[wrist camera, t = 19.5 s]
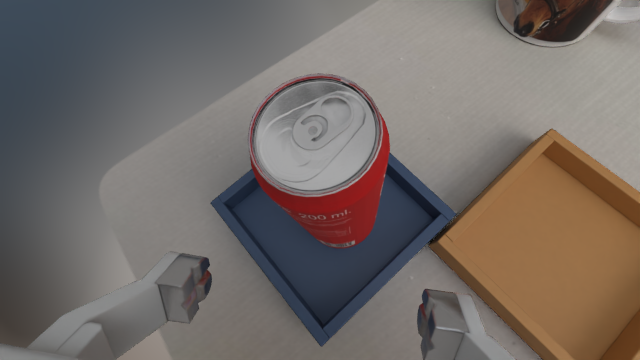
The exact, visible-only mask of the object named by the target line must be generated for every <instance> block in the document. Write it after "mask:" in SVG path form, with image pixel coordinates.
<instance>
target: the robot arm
mask: <svg viewBox="0 0 640 360" xmlns="http://www.w3.org/2000/svg"><path fill="white" fill-rule="evenodd" d="M209 266H210V264H209V259H208V258H206V257H201V256H196V255H190V254H184V253H176V252H168V253H166V254H165V255H164V256H163V257H162V258H161V260H160V261H159V262H158V263H157V264H156V265H155V266H154V267H153V268H152V269H151V270H150V271H149V272H148V273H147V274H146V275H145V277H144V278H143V279H142V280H141V281H135V282H132V283H130V284H128V285H126V286H124V287H122V288H120V289H118V290H115V291H113V292H111V293H109V294H107V295H105V296H103V297H100V298H98V299H96V300H94V301H92V302H90V303H88V304H85V305H83V306H81V307H79V308H77V309H75V310H73V311H70V312H69V313H66V314H64V315H62V316H61V317H60V318H59V319H58V320H57V321H55V323H53V324H52V325H51V326H50V327H49V328H48V329H47V330H45V331H44V332H43V333H42V334H41V335H40V336H39V337H38V338H37V339H36V340H34V341H33V342H32V343H31V344H30V345H29V346H28V347H27V348H22V347H17V346H12V345H7V344H1V343H0V360H116V359H117V358H118V357H120V356H121V355H123V354H124V353H125V352H127V351H128V350H129V349H131V348H132V347H134V346H135V345H136V344H138V343H139V342H140V341H142V340H143V339H145V338H146V337H147V336H149V335H150V334H151V333H153V332H154V331H156V330H157V329H158V328H160V327H161V326H163V325H164V324H165V323H167V321H174V322H181V323H188V324H190V322H191V321H192V319H193V317H194V316H195V314H196V313H197V311H198V309H199V305H198V303H199V302H201V301H202V300H204V299H205V298H206V297H207V295H208V293H209V291H210V288H211V283H212V277H211V273H210V272H209V271H208V270H207V269H208V267H209ZM422 300H423V303H422V304H421V305H419V309H418V316H417V325H418V333H419V334H420V336H421V337H422V338H423V339H422V342H421V351H422V356H423V360H516V359H515V358H514V357H513V356H512V355H511V354H510V353H509V352H508V351H507V350H506V349H505V348H504V347H502V346H501V345H500V344H499V343H498V342H497V341H496V340H495V339H494V338H493V337H490V336H487V333H486V331H485V328H484V326H483V323H482V321H481V318H480V316H479V314H478V311H477V309H476V306H475V304H474V301H473V299H472V297H471V296H470V295H469V294H461V293H453V292H445V291H438V290H431V289H425V290H424V291H423V295H422Z"/></svg>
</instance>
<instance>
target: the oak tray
mask: <svg viewBox="0 0 640 360" xmlns="http://www.w3.org/2000/svg"><path fill="white" fill-rule="evenodd" d="M428 246H429V247H430V248H431V249H432V250H433V251H434V252H435V253H436V254H437V255H438V256H439V257H440V258H441V259H442V260H443V261H444V262H445V263H446V264H447V265H448V266H449V267H450V268H451V269H452V270H453V271H454V272H455V273H456V274H457V275H458V276H459V277H460V278H461V279H462V280H463V281H464V282H465V283H466V284H468V285H469V286H470V287H471V288H472V289H473V290H474V291H475V292H476V293H477V294H478V295H479V296H480V297H481V298H482V299H483V300H484V301H485V302H486V303H487V304H488V305H489V306H490V307H491V308H492V309H493V310H494V311H495V312H496V313H497V314H498V315H499V316H500V317H501V318H502V319H503V320H504V321H505V322H506V323H507V324H508V325H509V326H510V327H511V328H512V329H513V330H514V331H515V332H516V333H517V334H518V335H519V336H520V337H521V338H522V339H523V340H524V341H525V342H526V343H527V344H528V345H529V346H530V347H531V348H532V349H533V350H534V351H535V352H536V353H537V354H538V355H539V356H540V357H541V358H542V359H543V360H640V192H639V191H637V190H636V189H634V188H633V187H632V186H630V185H629V184H628V183H626V182H625V181H623V180H622V179H621V178H619V177H618V176H617V175H615V174H614V173H612V172H611V171H610V170H608V169H607V168H606V167H604V166H603V165H601V164H600V163H599V162H597V161H596V160H595V159H593V158H592V157H591V156H589V155H588V154H586V153H585V152H584V151H582V150H581V149H580V148H578V147H577V146H575V145H574V144H573V143H571V142H570V141H569V140H567V139H566V138H564V137H563V136H562V135H560V134H559V133H558V132H556V131H555V130H553V129H550V130H549V131H547V132H546V133H545V134H543V135H542V136H541V137H539V138H538V139H537V140H535V141H534V142H533V143H532V144H531V145H530V146H528V147H527V148H526V149H525V150H524V151H523V152H522V153H521V154H520V155H519V156H518V157H517V158H516V159H515V160H514V161H513V162H512V163H511V164H510V165H509V166H508V167H507V168H506V169H505V170H504V171H503V172H502V173H501V174H500V175H499V176H498V177H497V178H496V179H495V180H494V181H493V182H492V183H491V184H490V185H489V186H488V187H487V188H486V189H485V190H484V191H483V192H482V193H481V194H480V195H479V196H478V197H477V198H476V199H475V200H474V201H473V202H472V203H471V204H470V205H469V206H468V207H467V208H466V209H465V210H464V211H462V212H461V213H460V214H459V215H458V216H457V217H456V218H455V219H454V220H453V221H452V222H451V223H450V224H449V225H448V226H447V227H446V228H445V229H444V230H443V231H442V232H441V233H440V234H439V235H438V236H437V237H436V238H435V239H434V240H433V241H432V242H431V243H430V244H429V245H428Z"/></svg>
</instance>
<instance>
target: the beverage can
mask: <svg viewBox="0 0 640 360" xmlns="http://www.w3.org/2000/svg"><path fill="white" fill-rule="evenodd" d="M248 144H249V152H250V158H251V166H252V169H253V172H254V175H255V177H256V180H257V181H258V183H259V184H260V186H261V188H262V189H263V191H264V192H265V193H266V194H267V195H268V196H269V197H270V198H271V199H272V200H273V201H274V202H275V203H277V204H278V205H279V206H280V207H281V208H282V209H283V210H284V211H286V212H287V213H288V214H289V215H290V216H291V217H292V218H293V219H294V220H296V221H297V222H298V223H299V224H300V225H301V226H302V227H303V228H305V229H306V230H307V231H308V232H309V233H310V234H311V235H312V236H313V237H315V238H316V239H317V240H318V241H319V242H321V243H322V244H324V245H326V246H329V247H332V248H349V247H352V246H355V245H357V244H359V243H360V242H362V241H363V240H364V239H365V238H366V237H367V236H368V235H369V234H370V232H371V230H372V229H373V226H374V223H375V220H376V215H377V210H378V206H379V201H380V196H381V192H382V187H383V182H384V178H385V173H386V169H387V164H388V158H389V151H390V143H389V134H388V130H387V127H386V124H385V121H384V119H383V118H382V116H381V114H380V112H379V110H378V108H377V106H376V104H375V103H374V101H373V99H372V98H371V97H370V96H369V94H368V93H367V92H366V91H365V90H364V89H363V88H361V87H360V86H358V85H357V84H356V83H354V82H352V81H350V80H348V79H346V78H343V77H340V76H336V75H331V74H309V75H304V76H300V77H297V78H294V79H292V80H289V81H287V82H285V83H283V84H282V85H280V86H278V87H277V88H275V89H274V90H273V91H272V92H271V93H270V94H268V95H267V96H266V97H265V98H264V100H263V101H262V102H261V103H260V105H259V106H258V108H257V109H256V111H255V113H254V115H253V117H252V120H251V124H250V127H249V134H248Z"/></svg>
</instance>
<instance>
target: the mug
mask: <svg viewBox="0 0 640 360" xmlns="http://www.w3.org/2000/svg"><path fill="white" fill-rule="evenodd" d="M622 1H623V0H496V12H497V16H498V18H499V20H500V21H501V23H502V25H503V26H504V27H505V28H506V29H507V30H508V31H509V32H511V33H512V34H513V35H515V36H516V37H518V38H520V39H522V40H524V41H526V42H529V43H532V44H535V45H540V46H548V47H559V46H566V45H570V44H573V43H575V42H578V41H580V40H582V39H583V38H585V37H586V36H588V35H589V34H590V33H591V32H592V31H593V30H594V29H595V28H596V27H597V26H598V25H599V24H600V23H601V22H602V21H605V22H609V23H616V24H625V23H633V22H638V21H640V6H637V7H619V6H618V5H619V4H620V3H621V2H622Z"/></svg>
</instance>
